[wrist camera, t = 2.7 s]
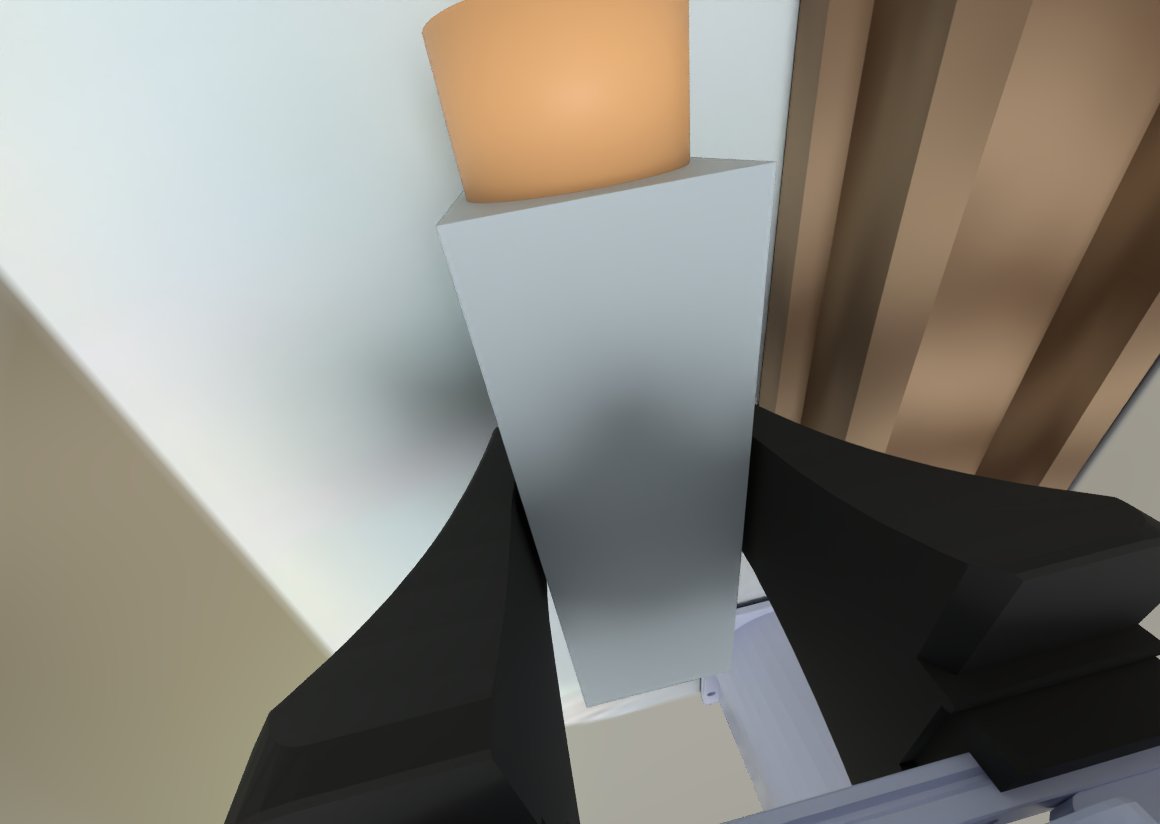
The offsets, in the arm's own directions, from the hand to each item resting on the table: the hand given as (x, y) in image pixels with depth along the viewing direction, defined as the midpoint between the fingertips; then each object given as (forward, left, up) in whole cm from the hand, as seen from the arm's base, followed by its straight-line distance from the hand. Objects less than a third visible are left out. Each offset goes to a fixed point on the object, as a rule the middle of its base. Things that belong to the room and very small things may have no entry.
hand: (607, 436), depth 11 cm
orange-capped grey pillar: (0, 0, -2) cm, 2 cm away
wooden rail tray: (0, -12, -3) cm, 12 cm away
